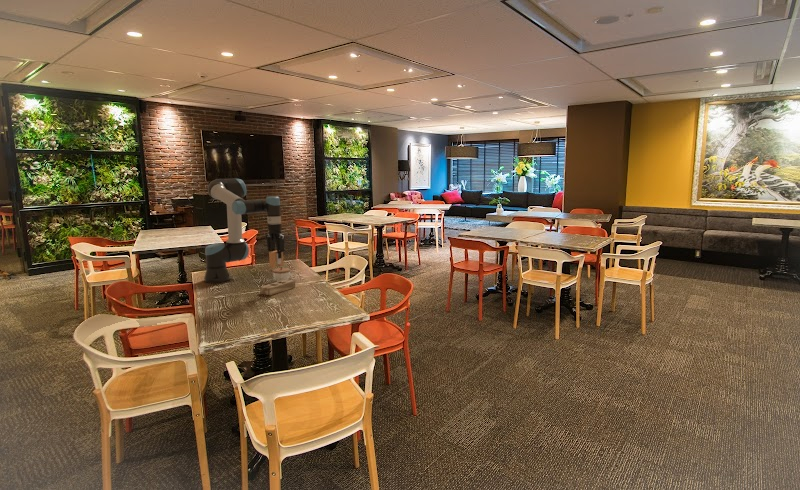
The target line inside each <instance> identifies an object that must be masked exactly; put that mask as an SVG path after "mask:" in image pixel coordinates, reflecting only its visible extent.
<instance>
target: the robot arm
mask: <svg viewBox="0 0 800 490" xmlns="http://www.w3.org/2000/svg"><path fill="white" fill-rule="evenodd" d="M247 192H248V191H247V186H246V184H245V182H244V180H243V179H240V178H216V179H214V180H212V181H210V183H209V184H208V186H207V193H208V196H210V197H211V198H212V199H214V200H219V201H220V202H223V204H226V216H227V217H226V218H227V233H228V234H227V236H228V238H227V239H226V242H225V243H224V242H217V243H212V244H209V245H207V246H206V247H205V248H204V255H205V264H206V267H205V268H206V271H205V275H204V282H205V283H209V284H214V283H215V284H217V283H223V282H228V281H229V280H230V279H231V275H230V273H229V270H228V269H227V263H232V262H237V261H238V262H239V261H243V260H244V261H245V260H246V259H247V258H248V256H249V253H250V247H249V245H248V243H247V242H246V241H245V239H244V238H243V227H242V226H243V223H242V220H243V219H242V215H247V214H259V213H266V216H267V217H266V219H267V220H266V222H267V230H268V233H266V234H265V239H266V244H267V247H266V248H267V251H268V252H272V251H276V250H277V252H276V256H277V257H275V259H276V265H278V264H281V258H282V255H281V253H282V252H283V253H284V252H285V238H286V235H283V234H282V232H281V231H282V217H281V215H282V214H281V212H282V211H281V200H280V196H266V198H265V199H264V198H262V199H261V198H260V199H251V200H250V199H248V200H245V199H244V197H245V196H246V195H247ZM279 250H280V251H279Z"/></svg>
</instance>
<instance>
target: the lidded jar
mask: <svg viewBox="0 0 800 490" xmlns="http://www.w3.org/2000/svg"><path fill="white" fill-rule="evenodd" d="M272 276H273V279H274V280H275V282H278V281H281V280H284V279H287V280H290V277H291V268H288V267H283V266H280V267H278V268H277V267H276V268H273V269H272Z"/></svg>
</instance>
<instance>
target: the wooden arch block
mask: <svg viewBox="0 0 800 490" xmlns="http://www.w3.org/2000/svg"><path fill="white" fill-rule="evenodd" d="M279 251H280V250H279ZM276 252H277V249H275V251H272V252H270V251H268V255H269V256H268V257H269V268H272V269H276V268H277V266H280V267H283V266H284V252H282V253H281V255H282V258H281V264H277V256H276ZM275 257H276V259H275Z"/></svg>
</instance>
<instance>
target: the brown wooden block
mask: <svg viewBox="0 0 800 490" xmlns="http://www.w3.org/2000/svg"><path fill="white" fill-rule="evenodd" d="M294 288H296V280H293V279H288V280H287V279H284V280H281V281H278V282H277V281H275V282H272V283H269V284H265V285H262V286H259V291H260V292H259V293H260V294H261V295H265V296H273V295H276V294H279V293H283V292H285V291H289V290H291V289H294Z"/></svg>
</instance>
